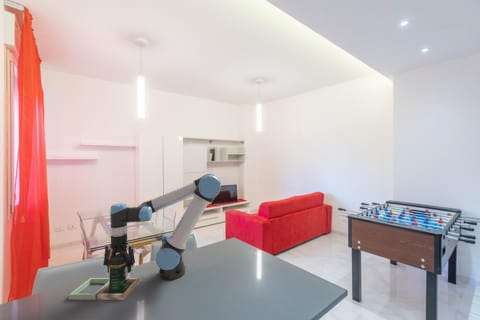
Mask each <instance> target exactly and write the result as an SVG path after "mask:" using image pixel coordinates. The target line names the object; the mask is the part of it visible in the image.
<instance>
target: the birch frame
mask: <svg viewBox="0 0 480 320" xmlns="http://www.w3.org/2000/svg"><path fill="white" fill-rule="evenodd" d="M139 284H140V278H139V277H137V278H136V277H135V278H134V277H133V278H132V277H130V278H129V287H128V289H127V290H126V291H125V292H124V293H122V294H109V285H107V286H106V287H105V288H104V289H103V290H102V291H101V292H100V293H99V294H97V299H96V300H98V301H104V300H105V301H106V300H107V301H110V300H111V301H124V300H125V299H126V298H127V297H128V296H129V295H130V294H131V292H132V291H133V290H134V289H135V288H136V287H137V286H138V285H139Z"/></svg>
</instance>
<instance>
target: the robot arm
mask: <svg viewBox="0 0 480 320" xmlns="http://www.w3.org/2000/svg"><path fill="white" fill-rule="evenodd" d="M220 191H222V183H221V180H220V179H219V177H217V176H216V175H215V174H211V173H207V174H204V175H202V176H201V177H199V178H197V179H195V180H193V181H192V183H188V184H186V185H184V186H182V187H180V188H177V189H174V190H172V191H170V192H166V193H164V194H163V195H159V196H157V197H155V198H153V199H150V200H147V201H143V202H142V203H141V204H139V205H138V206H137V207H136V206H134V207H131V206H130V207H129V206H128V204H127V203H122V202H121V203H115V204H112V205H111V206H110V211H109V213H110V214H109V215H110V244H107V245H105V246H104V250H105V251H104V258H103V266H106V268H107V273H108V278H109V280H110V268H109V260H110V259H111V258H112V257H114V256H115V255H116V254H118V253H121V255H122V256H123V258H125V262H126V265H127V266H126V267H125V270H126V280H128V279H129V278H131V276H130V275H131V272H132V266H133V265H135V263H136V260H135V253H134V244H128V223H144V222H150V221H151V220H152V218H153V217H152V216H153V214H154V213H156V212H159V211H161V210H164V209H166V208H168V207H171V206H174V205H176V204H178V203H180V202H182V201H185V200H189V199H190V198H192V197H193V198H192V199H191V201H190V202H189V205H188V206H187V208H186V209H185V212H184V213H183V215H182V216H181V218H180V220H179V222H178V223H177V225H176V227H175V228H174V230H173V231H172V232H171V233H166V234H163V235H161V245H160V247H159V249H158V252H157V253H156V256H155V263H156V265H157V267H158V268H159V269H158V270H159V271H158V277H159V278H160V279H162V280H167V281H170V280H172V281H173V280H176V279H179V278H181V277H183V276H184V275H186V272H187V269H186V265H185V262H184V259H183V255H184V254H183V253H184V251H185V250H186V248H187V245H186V243H187V241H188V240H189V238H190V236H191V234H192V232H193V230H194V229H195V227H196V225H198V222H199V220H200V219H201V218H202V215H203V214H204V212H205V209H206V208H207V207H208V205H210V204H212V203H213V202H214V200H215V199H216V197H217V196H218V195H219V194H220ZM111 250H112V251H111ZM128 254H129V256H128Z"/></svg>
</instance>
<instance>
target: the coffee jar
mask: <svg viewBox="0 0 480 320" xmlns="http://www.w3.org/2000/svg"><path fill="white" fill-rule="evenodd" d="M128 256H129V253H128ZM109 259H110V258H109ZM126 266H127V265H126V262H125V258H123V256H122V255H121V253H116V255H115V256H114V257H112V258H111V259H110V260H109V268H110V281H109V291H108V294H123V293H124V292H125V291H126V290H127V289H128V288H129V287H130V284H129V279H128V280H126V270H125V267H126Z"/></svg>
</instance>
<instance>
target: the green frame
mask: <svg viewBox="0 0 480 320" xmlns="http://www.w3.org/2000/svg"><path fill="white" fill-rule="evenodd" d="M109 281H110V280H109V277H90V278H88V279H87V280H86V281H85V282H83V283H82V284H81V285H79V286H78V287H77V288H76V289H74V290H73V291H72V292H70V293H69V294H68V300H83V301H84V300H89V301H91V300H94V301H95V300H97V294H99V293H100V292H101V291H102V290H103V289H104V288H105V287H106V286H107V285H109ZM91 284H104V285H103V286H102V287H100V288H99V289H98V290H97V291H96V292H94V293H90V292H89V293H84V292H83V293H82V291H83V290H85V289H86V288H88V286H90V285H91Z"/></svg>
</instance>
